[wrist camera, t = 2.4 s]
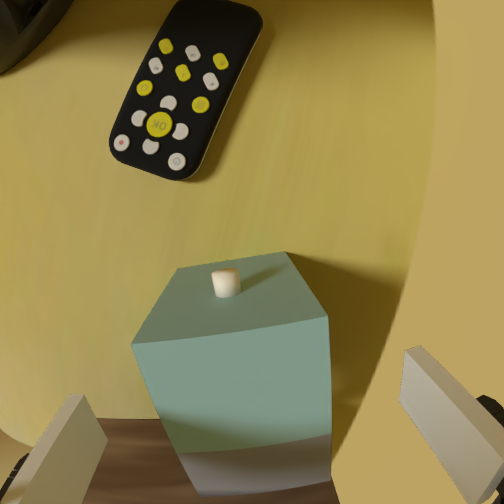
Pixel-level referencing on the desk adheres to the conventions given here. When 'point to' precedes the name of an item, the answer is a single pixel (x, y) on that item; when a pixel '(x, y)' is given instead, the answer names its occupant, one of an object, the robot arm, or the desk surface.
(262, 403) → the cabinet
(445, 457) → the robot arm
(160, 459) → the wall board
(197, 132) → the remote control
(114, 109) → the desk surface
